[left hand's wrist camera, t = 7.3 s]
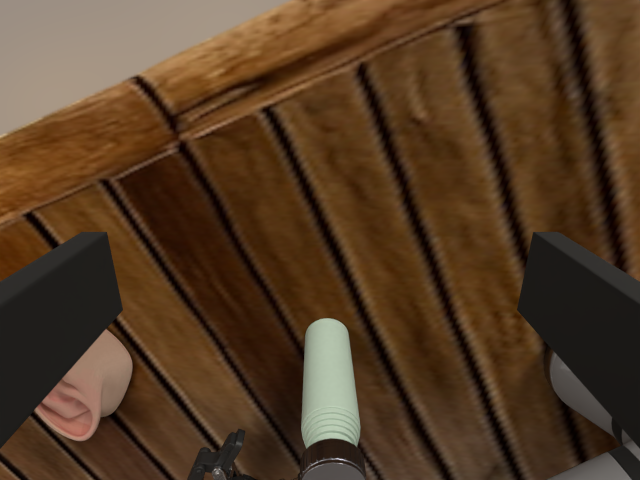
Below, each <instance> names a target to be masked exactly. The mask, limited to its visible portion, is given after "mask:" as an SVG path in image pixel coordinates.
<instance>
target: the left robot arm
mask: <svg viewBox="0 0 640 480" xmlns="http://www.w3.org/2000/svg"><path fill="white" fill-rule="evenodd" d="M122 310H123V308H122V303H121V299H120V294H119V289H118V284H117V279H116V274H115V270H114V265H113V260H112V255H111V250H110V246H109V241H108V236H107V232H81V233H80V234H78V235H76V236H75V237H73V238H71V239H70V240H68V241H66V242H65V243H63V244H61V245H60V246H58V247H57V248H55V249H53V250H52V251H50V252H48V253H47V254H45V255H43V256H42V257H40V258H39V259H37V260H35V261H34V262H32V263H30V264H29V265H27V266H25V267H24V268H22V269H20V270H19V271H17V272H16V273H14V274H12V275H11V276H9V277H7V278H6V279H4V280H2V281H1V282H0V448H1V447H2V446H3V445H4V444H5V443H6V442H7V440H8V439H9V438H10V437H11V436H12V435H13V434H14V433H15V431H16V430H17V429H18V428H19V427H20V426H21V425H22V423H23V422H24V421H25V420H26V419H27V418H28V417H29V416H30V414H31V413H32V412H33V411H34V410H35V409H36V408H37V406H38V405H39V404H40V403H41V402H42V401H43V400H44V399H45V397H46V396H47V395H48V394H49V393H50V392H51V391H52V390H53V388H54V387H55V386H56V385H57V384H58V383H59V382H60V380H61V379H62V378H63V377H64V376H65V375H66V374H67V373H68V371H69V370H70V369H71V368H72V367H73V366H74V365H75V364H76V362H77V361H78V360H79V359H80V358H81V357H82V356H83V354H84V353H85V352H86V351H87V350H88V349H89V348H90V347H91V345H92V344H93V343H94V342H95V341H96V340H97V339H98V337H99V336H100V335H101V334H102V333H103V332H104V331H105V330H106V328H107V327H108V326H109V325H110V324H111V323H112V322H113V321H114V319H115V318H116V317H117V316H118V315H119V314H120V313H121V311H122ZM517 310H518V311H519V313H520V314H521V315H522V316H523V317H524V318H525V319H526V321H527V322H528V323H529V324H530V325H531V326H532V327H533V328H534V330H535V331H536V332H537V333H538V334H539V335H540V336H541V337H542V339H543V340H544V341H545V342H546V343H547V344H548V346H547V349H546V352H545V357H544V371H545V375H546V378H547V381H548V383H549V384H550V386H551V387H552V388H553V390H554V391H555V392H556V394H557V395H558V396H559V397H560V399H561V400H562V401H563V402H564V403H565V404H567V405H568V406H569V407H571V408H572V409H574V410H575V411H577V412H578V413H580V414H581V415H583V416H584V417H586V418H587V419H588V420H590V421H591V422H593V423H594V424H596V425H597V426H599V427H600V428H602V429H603V430H605V431H606V432H608V433H609V434H611V435H612V436H614V437H615V439H616V440H617V441H618V442H619V443H620V445H621V446H620V447H617V448H615V449H613V450H611V451H609V452H606V453H604V454H601V455H599V456H597V457H595V458H593V459H590V460H588V461H586V462H584V463H582V464H579V465H577V466H575V467H573V468H571V469H568V470H566V471H564V472H562V473H560V474H557V475H555V476H553V477H551V478H549V479H546V480H640V282H639V281H638V280H636V279H634V278H633V277H631V276H629V275H628V274H626V273H624V272H623V271H621V270H620V269H618V268H616V267H615V266H613V265H611V264H610V263H608V262H606V261H605V260H603V259H601V258H600V257H598V256H597V255H595V254H593V253H592V252H590V251H588V250H587V249H585V248H583V247H582V246H580V245H579V244H577V243H575V242H574V241H572V240H570V239H569V238H567V237H565V236H564V235H562V234H560V233H559V232H533V236H532V241H531V246H530V250H529V255H528V260H527V265H526V270H525V274H524V279H523V284H522V289H521V294H520V299H519V303H518V308H517Z"/></svg>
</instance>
